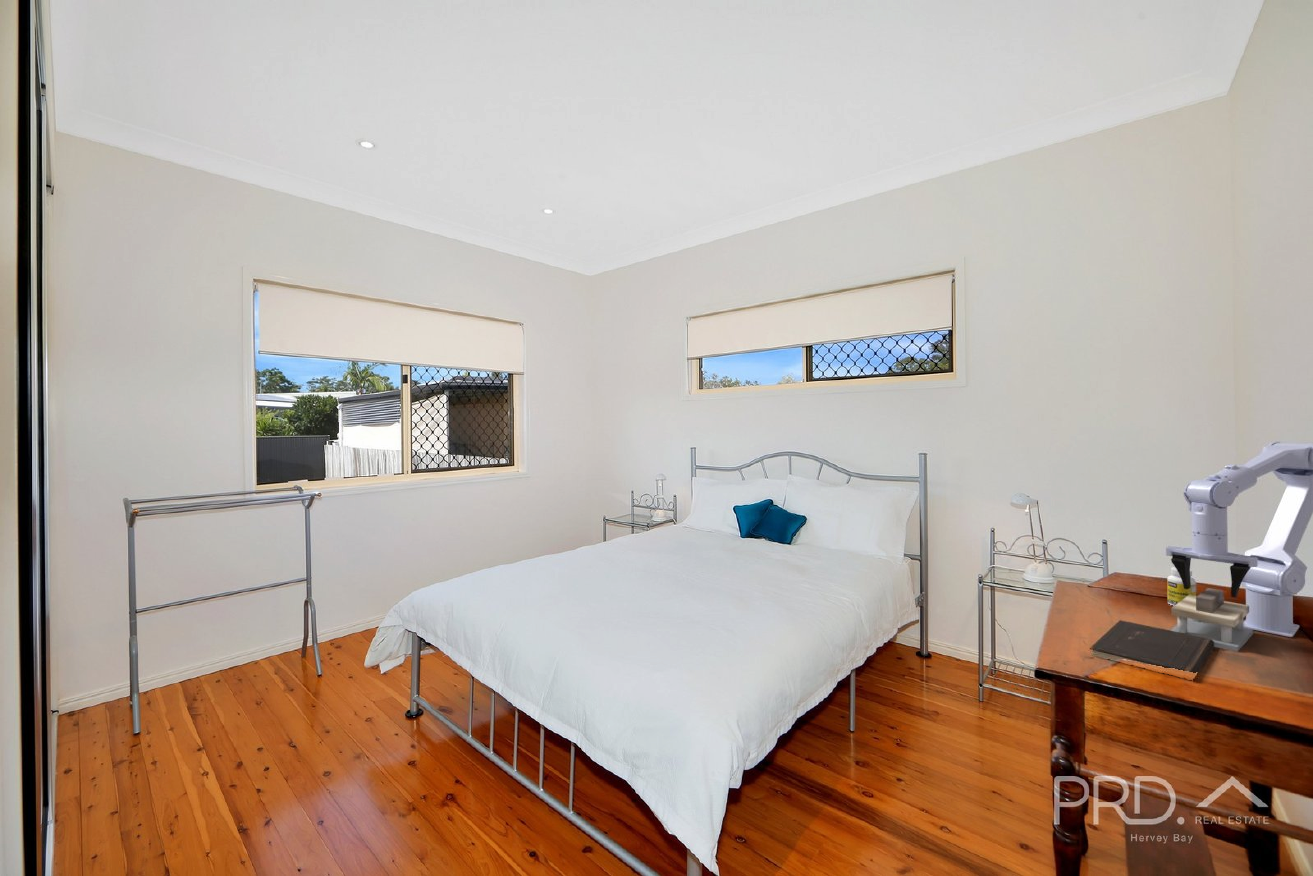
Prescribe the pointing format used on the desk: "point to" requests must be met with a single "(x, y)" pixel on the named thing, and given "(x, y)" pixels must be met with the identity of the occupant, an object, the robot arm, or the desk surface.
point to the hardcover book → (1153, 646)
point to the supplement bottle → (1178, 587)
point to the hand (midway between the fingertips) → (1210, 592)
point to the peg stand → (1215, 632)
